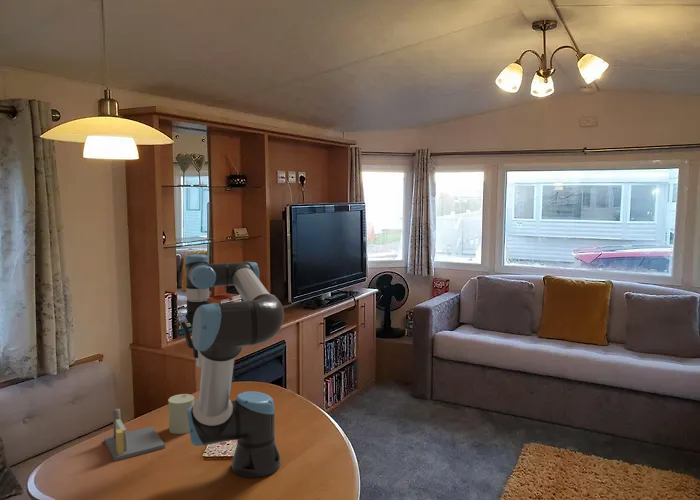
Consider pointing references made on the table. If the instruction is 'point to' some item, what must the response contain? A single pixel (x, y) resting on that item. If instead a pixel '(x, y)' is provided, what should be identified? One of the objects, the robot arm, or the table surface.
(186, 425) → the can
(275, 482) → the table surface
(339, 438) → the table surface
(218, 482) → the table surface
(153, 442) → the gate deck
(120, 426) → the white framed panel
